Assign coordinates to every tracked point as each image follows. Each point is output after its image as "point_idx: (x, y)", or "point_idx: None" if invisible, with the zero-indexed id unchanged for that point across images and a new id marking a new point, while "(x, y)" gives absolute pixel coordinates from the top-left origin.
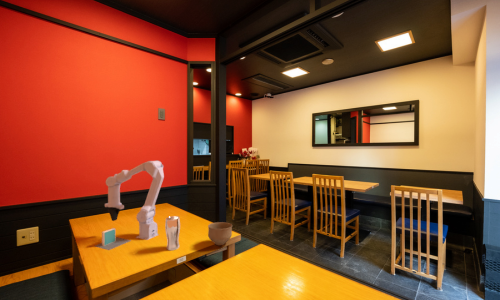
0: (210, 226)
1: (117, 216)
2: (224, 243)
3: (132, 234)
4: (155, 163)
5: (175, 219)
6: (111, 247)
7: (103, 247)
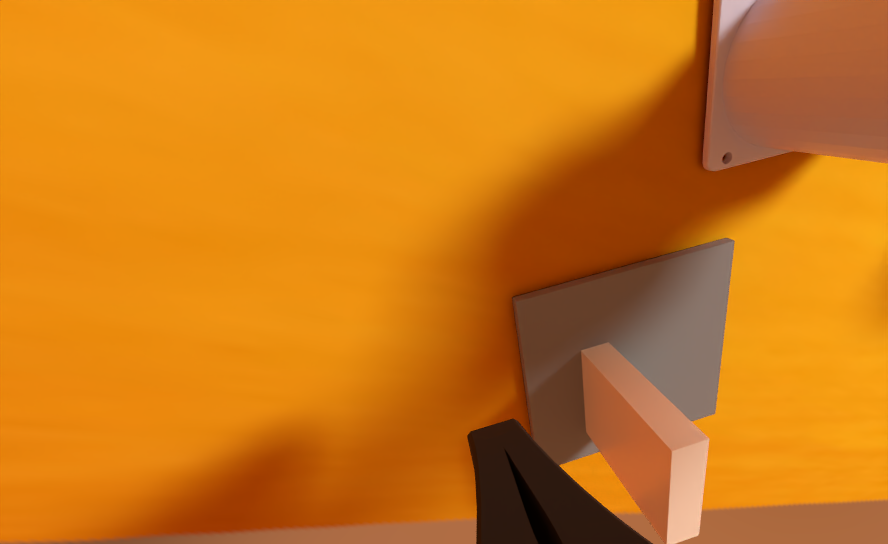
0: None
1: (555, 465)
2: None
3: (562, 134)
4: None
5: None
6: (692, 392)
7: None
